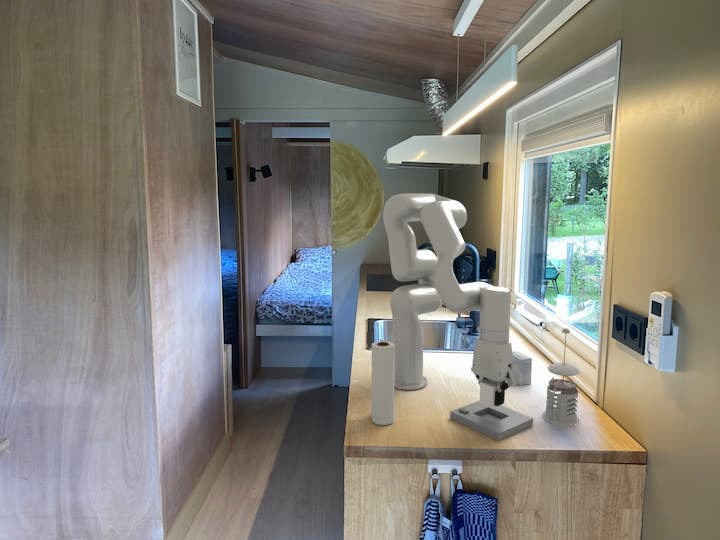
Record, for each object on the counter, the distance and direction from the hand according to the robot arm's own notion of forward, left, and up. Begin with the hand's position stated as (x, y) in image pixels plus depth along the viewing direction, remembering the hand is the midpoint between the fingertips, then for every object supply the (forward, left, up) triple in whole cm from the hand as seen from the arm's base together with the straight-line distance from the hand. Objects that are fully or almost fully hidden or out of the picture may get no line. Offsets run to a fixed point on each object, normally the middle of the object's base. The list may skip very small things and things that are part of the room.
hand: (492, 401), depth 133 cm
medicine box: (-14, +31, -6) cm, 35 cm away
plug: (0, 0, 0) cm, 0 cm away
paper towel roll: (-18, -22, -6) cm, 29 cm away
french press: (+10, +16, -6) cm, 20 cm away
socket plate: (0, 0, -6) cm, 6 cm away
